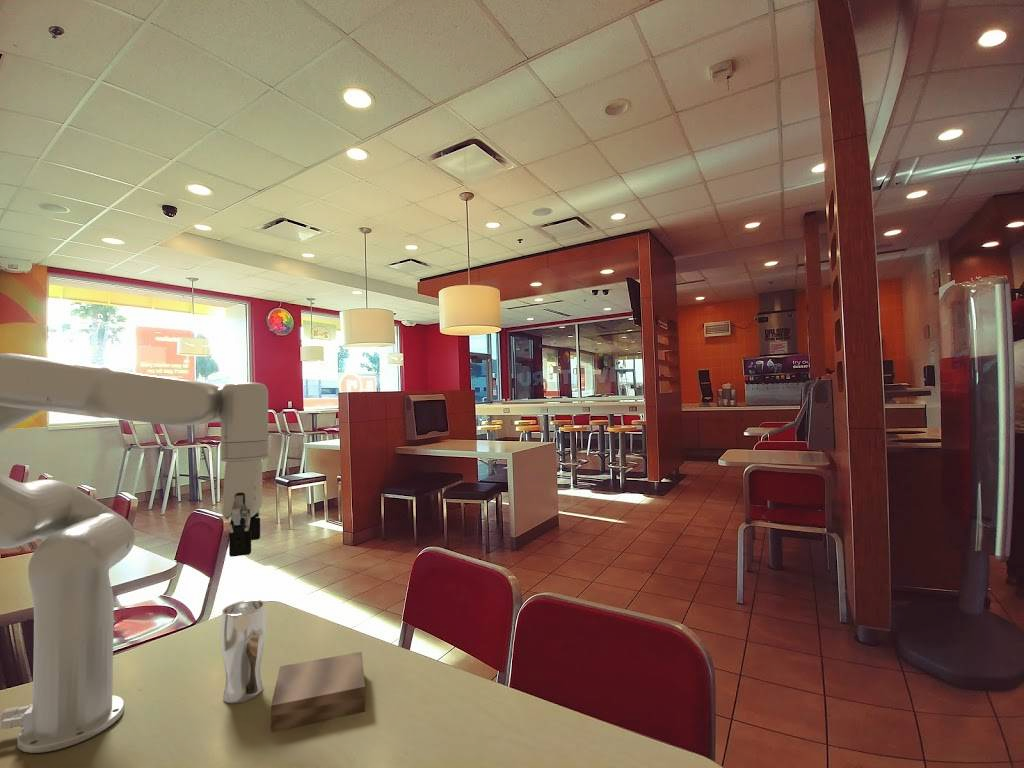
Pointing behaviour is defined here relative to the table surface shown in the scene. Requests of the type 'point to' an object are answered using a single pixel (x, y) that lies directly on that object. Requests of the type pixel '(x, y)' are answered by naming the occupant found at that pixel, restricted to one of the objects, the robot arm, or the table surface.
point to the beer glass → (242, 649)
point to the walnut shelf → (318, 691)
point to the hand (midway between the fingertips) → (245, 547)
